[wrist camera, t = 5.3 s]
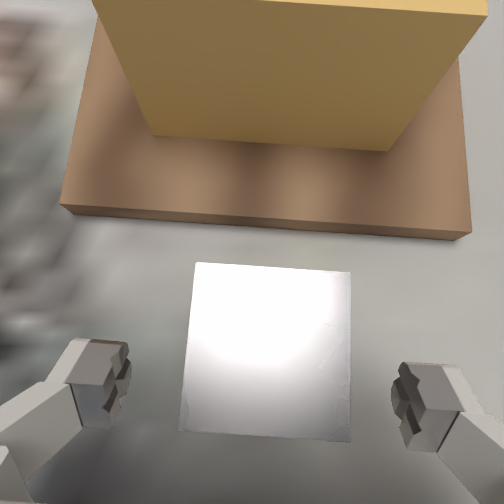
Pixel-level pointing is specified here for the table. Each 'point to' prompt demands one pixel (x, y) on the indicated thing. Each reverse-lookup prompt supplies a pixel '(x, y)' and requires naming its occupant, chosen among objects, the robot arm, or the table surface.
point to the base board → (266, 169)
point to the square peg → (268, 353)
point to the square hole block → (287, 65)
